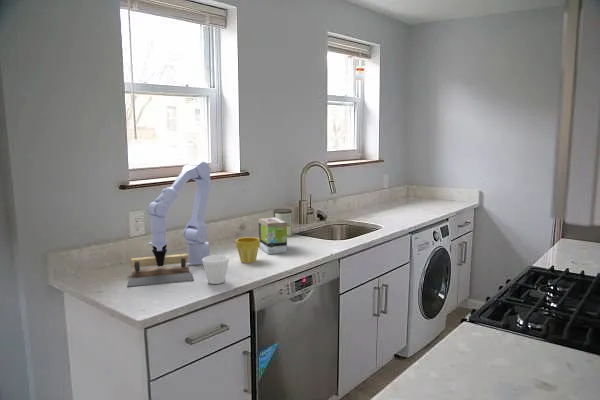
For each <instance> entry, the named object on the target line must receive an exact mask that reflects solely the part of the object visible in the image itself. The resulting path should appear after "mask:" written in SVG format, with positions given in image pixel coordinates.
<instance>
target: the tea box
mask: <svg viewBox="0 0 600 400" xmlns="http://www.w3.org/2000/svg"><path fill="white" fill-rule="evenodd" d="M258 239H260V247H259V248H260V249H261V250H262V251H264V252H265V253H266V254H268V255H271V254H272V255H274V254H284V253H285V254H286V253H288V237H287V222H285V221H283V220H281V219H279V218H274V217H267V218H266V217H264V218H263V217H262V218H258Z"/></svg>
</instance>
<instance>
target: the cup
mask: <svg viewBox="0 0 600 400" xmlns="http://www.w3.org/2000/svg"><path fill="white" fill-rule="evenodd" d="M229 259H230V258H229V257H228V256H227V255H223V254H215V255H214V254H213V255H210V256H207V257H204V258H203V259H202V263H203V264H202V265H203V268H204V272H205V276H206V279H207V283H208V284H209V285H221V284H223V283H224V282H225V280H226V276H227V270H228V266H229Z"/></svg>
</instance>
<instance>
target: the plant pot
mask: <svg viewBox="0 0 600 400" xmlns="http://www.w3.org/2000/svg"><path fill="white" fill-rule="evenodd" d="M235 247H236V249H237V252H238V256H239V259H240V262H241V263H243V264H251V263H252V264H253V263H256V260H257V257H258V256H257V255H258V252H259V251H258V250H259V248H260V239H259V237H251V236H250V237H249V236H248V237H247V236H246V237H240V238H237V239H236V240H235Z"/></svg>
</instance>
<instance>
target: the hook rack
mask: <svg viewBox="0 0 600 400" xmlns="http://www.w3.org/2000/svg"><path fill="white" fill-rule="evenodd" d="M137 258H140V257H139V256H138V257H137ZM134 265H135V267H134V269H132V272H131V279H134V278H144V277H155V276H166V275H177V274H187V273H190V268H189V265H187V263H186V262H185V258H183V259H181V263H180V265H170V266H169V265H168V266H159V267H158V266H157V267H148V268H147V267H146V268H141V267H139V262H136V263H134Z"/></svg>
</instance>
